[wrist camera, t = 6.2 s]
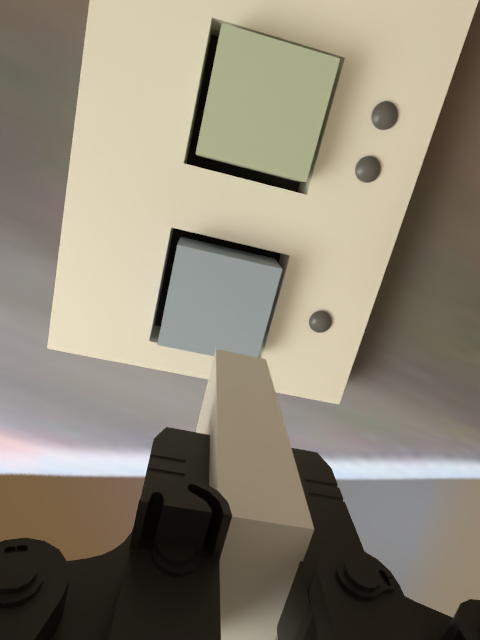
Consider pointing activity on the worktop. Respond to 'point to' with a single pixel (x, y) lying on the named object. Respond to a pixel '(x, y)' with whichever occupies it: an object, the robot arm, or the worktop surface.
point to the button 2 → (265, 104)
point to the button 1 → (218, 299)
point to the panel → (241, 194)
